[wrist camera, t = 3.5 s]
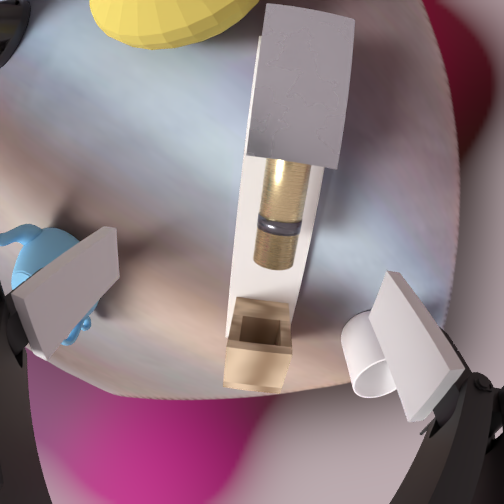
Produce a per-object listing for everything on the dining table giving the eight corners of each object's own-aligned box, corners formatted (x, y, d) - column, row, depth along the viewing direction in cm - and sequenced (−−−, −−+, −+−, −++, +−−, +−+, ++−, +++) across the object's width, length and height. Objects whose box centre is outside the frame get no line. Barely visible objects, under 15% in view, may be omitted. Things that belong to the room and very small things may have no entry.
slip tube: (279, 55, 21) (280, 42, 17) (322, 62, 21) (331, 51, 17) (253, 249, 29) (251, 267, 26) (292, 254, 29) (295, 273, 26)
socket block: (232, 333, 41) (223, 387, 31) (237, 293, 38) (226, 346, 28) (279, 338, 40) (279, 393, 31) (288, 300, 37) (292, 354, 28)
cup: (331, 326, 39) (343, 377, 30) (402, 287, 36) (431, 331, 26) (351, 357, 42) (363, 405, 32) (414, 322, 38) (439, 365, 29)
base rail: (226, 333, 41) (225, 337, 40) (259, 38, 24) (259, 35, 23) (285, 341, 41) (285, 344, 40) (338, 51, 24) (340, 49, 23)
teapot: (35, 199, 34) (-19, 226, 22) (122, 246, 36) (74, 292, 25) (32, 281, 40) (-6, 316, 29) (107, 327, 43) (75, 376, 32)
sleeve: (254, 148, 30) (246, 155, 20) (268, 41, 24) (266, 3, 15) (315, 157, 30) (336, 169, 20) (329, 51, 24) (355, 19, 15)
